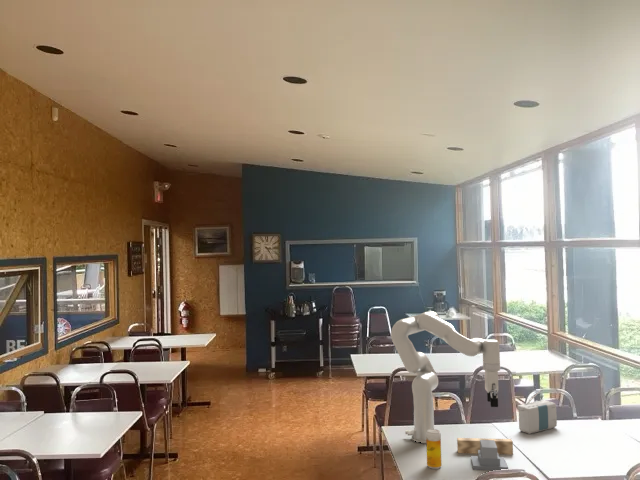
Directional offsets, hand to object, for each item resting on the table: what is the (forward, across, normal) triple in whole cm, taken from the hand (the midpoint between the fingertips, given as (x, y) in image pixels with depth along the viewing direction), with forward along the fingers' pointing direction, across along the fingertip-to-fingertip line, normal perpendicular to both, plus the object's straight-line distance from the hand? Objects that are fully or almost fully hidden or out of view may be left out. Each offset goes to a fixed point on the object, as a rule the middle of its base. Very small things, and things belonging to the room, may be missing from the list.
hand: (492, 404), depth 258 cm
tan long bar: (+21, +3, -5) cm, 22 cm away
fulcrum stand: (+21, +19, -5) cm, 29 cm away
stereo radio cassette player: (+21, -34, +27) cm, 48 cm away
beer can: (+21, +24, -28) cm, 43 cm away
